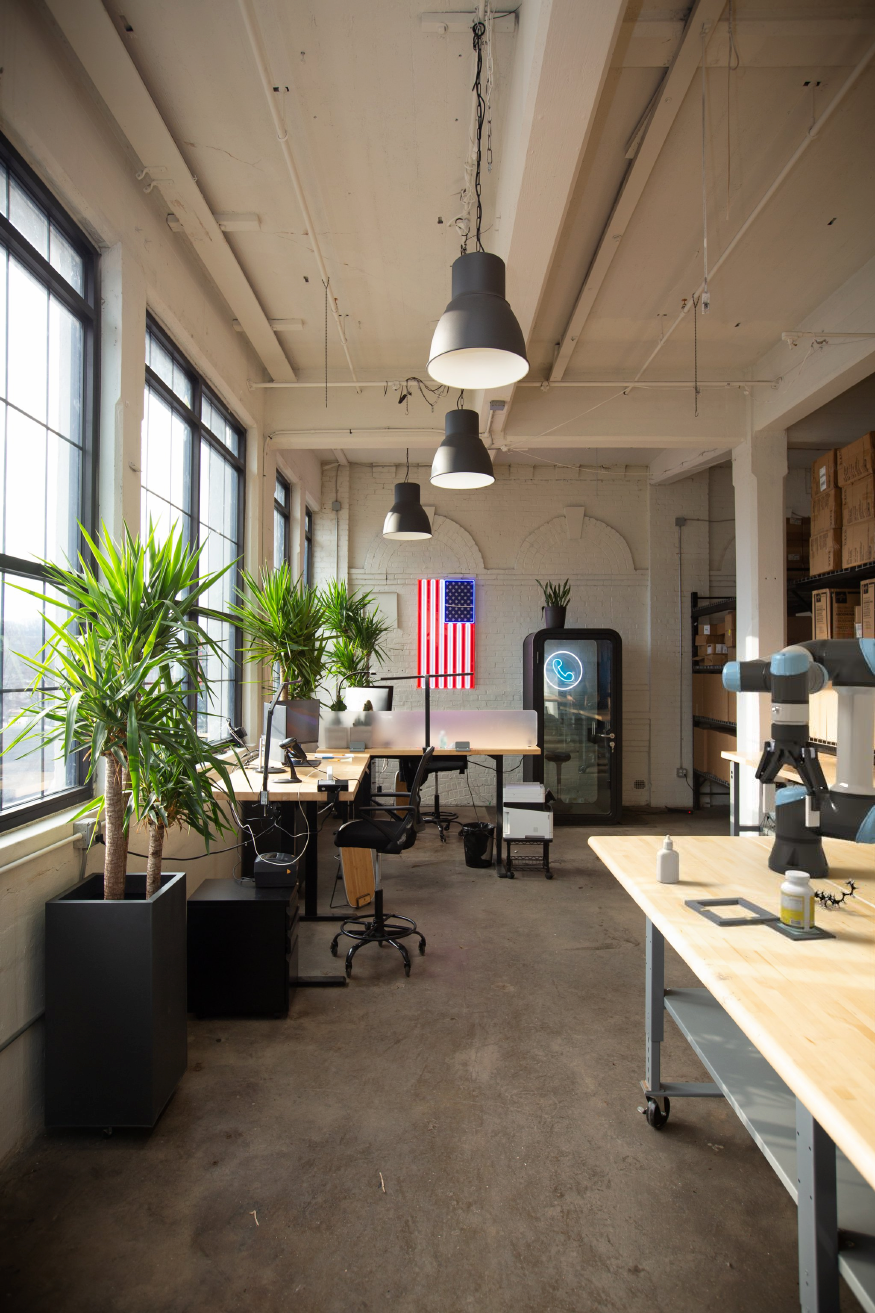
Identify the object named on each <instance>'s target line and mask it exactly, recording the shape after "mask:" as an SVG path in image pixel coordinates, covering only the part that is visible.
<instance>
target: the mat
mask: <svg viewBox="0 0 875 1313" xmlns="http://www.w3.org/2000/svg"><path fill="white" fill-rule="evenodd" d="M761 924H763V925H765V926H767V927H768V928H770V929H772V930H774V931H776V932H778V933H779V934H780V935H783V936H785V937H786V938H788V939H790V940H792V941H793V942H794V941H797V942H798V941H807V940H808V941H809V940H821V939H822V940H823V939H835V938H837V936H836V935H835V934H833V933H831V932H830V931H828V930H825V929H823V928H821V927H819V926H817V925H815V927H814V930H812V931H810V932H797V931H793V930H789V929H787V928H785V927H783V926H782V924H781V920H778V921H762V923H761Z"/></svg>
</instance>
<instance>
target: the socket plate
mask: <svg viewBox="0 0 875 1313" xmlns="http://www.w3.org/2000/svg"><path fill="white" fill-rule="evenodd" d="M723 905H724V906H725V905H727V906H728V905H739V906H741V907H743V908H744V909H747V910H748V911H750V912H752V913H754V914H756V916H748V915H743V916H741V917H729V918H728V917H727V918H725V917H722V916H720V915H718V914H716V913H715V912H713V911H712V910H711V909H710V908H707V906H723ZM684 906H686V907H688V908H690V909H691V910H693V911H694V912H695V913H698V914H699V915H701V916H702V917H703V918H706V919H707V920H709V921H710V922H713V923H714V924H715V925H717V926H718V927H725V926H741V925H744V926H745V925H756V924H757V925H758V924H763V923H762V921H778V920H781V916H778V915H776V914H774V913H773V912H771V911H769V910H767V909H765V908H763V907H761V906H760V905H757V904H755V903H753V902H752V901H749V900H747V899H745V898H744V897H741V896H739V897H737V896H736V897H724V898H723V897H722V898H721V897H720V898H705V899H685V900H684ZM757 915H758V916H757Z"/></svg>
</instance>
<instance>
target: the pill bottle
mask: <svg viewBox="0 0 875 1313" xmlns="http://www.w3.org/2000/svg"><path fill="white" fill-rule="evenodd" d="M784 876H785V879H786V881H785V882H783V883H782V884H781V886H780V918H781V924H782V926H783V927H785V928H787V929H789V930H793V931H797V932H810V931H812V930H814V927H815V926H816V925H815V922H816V921H815V918H816V917H815V912H816V911H815V901H816V900H815V899H816V897H815V892H816V891H815V889H814V887H813V886H811V885H810V884H809V883H810V881H811V878H810V875H809V874H808V873H805V872H801V871H786V873H785V874H784Z"/></svg>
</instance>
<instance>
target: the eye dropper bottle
mask: <svg viewBox="0 0 875 1313" xmlns="http://www.w3.org/2000/svg"><path fill="white" fill-rule="evenodd" d="M662 845H663V846H662V847H663V848H662V849H660V850H658V851H657V853H656V881H657V882H658V883H661V884H674V883H675V884H676V883H678V882H679V881H680V853H679V852H678V851H677V850H675V849H674V841H673V840H671V835H668V834H667V835H666V837H665V839H663V840H662Z"/></svg>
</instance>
